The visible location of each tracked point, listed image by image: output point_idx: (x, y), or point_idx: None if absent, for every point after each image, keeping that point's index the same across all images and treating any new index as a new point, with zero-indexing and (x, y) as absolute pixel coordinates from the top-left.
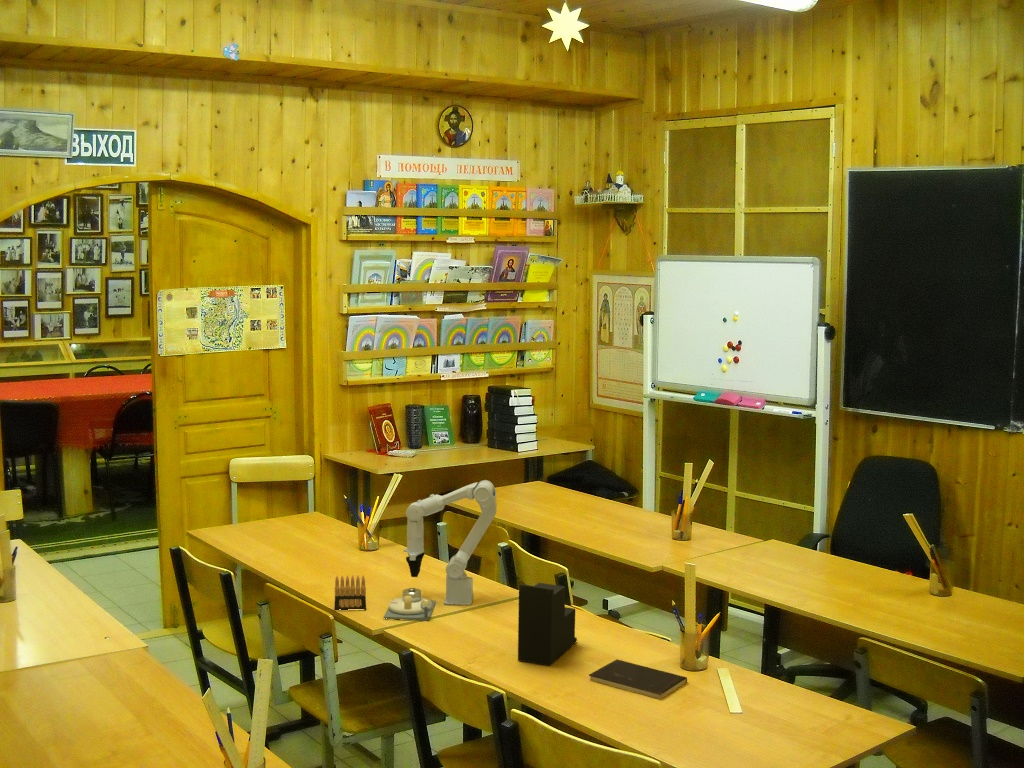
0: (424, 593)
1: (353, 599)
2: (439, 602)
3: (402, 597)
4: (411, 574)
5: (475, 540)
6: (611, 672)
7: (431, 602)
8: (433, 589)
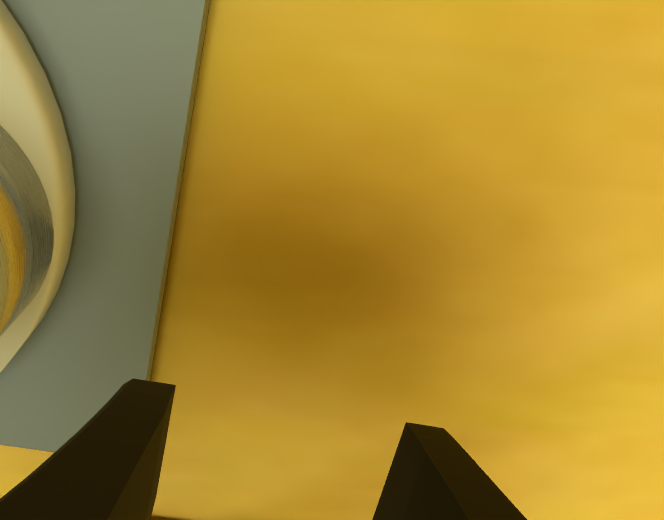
0: (508, 359)
1: None
2: (170, 475)
3: (15, 80)
4: (101, 417)
5: None
6: None
7: (54, 421)
8: (616, 447)
